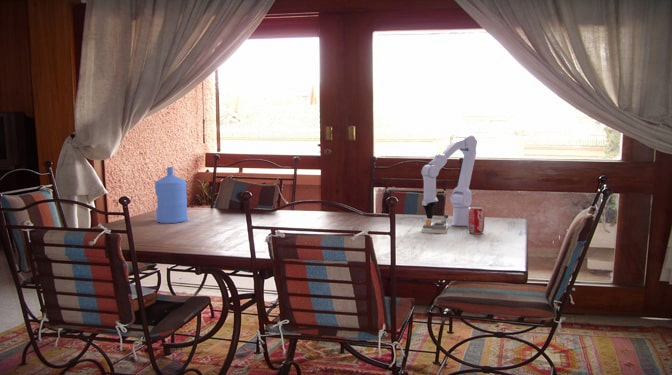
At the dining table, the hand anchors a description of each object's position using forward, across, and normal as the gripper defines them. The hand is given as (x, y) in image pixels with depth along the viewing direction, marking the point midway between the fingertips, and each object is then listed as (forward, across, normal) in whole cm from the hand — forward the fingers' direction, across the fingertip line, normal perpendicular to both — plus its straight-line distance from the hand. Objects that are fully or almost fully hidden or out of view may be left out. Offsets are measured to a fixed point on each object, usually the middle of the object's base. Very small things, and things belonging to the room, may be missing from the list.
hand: (429, 218), depth 298 cm
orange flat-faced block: (+3, -5, -1) cm, 6 cm away
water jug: (+4, -43, +125) cm, 132 cm away
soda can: (+5, 0, -23) cm, 24 cm away
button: (+3, -5, -7) cm, 9 cm away
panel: (+5, -1, -3) cm, 6 cm away
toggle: (+2, +4, -5) cm, 7 cm away
